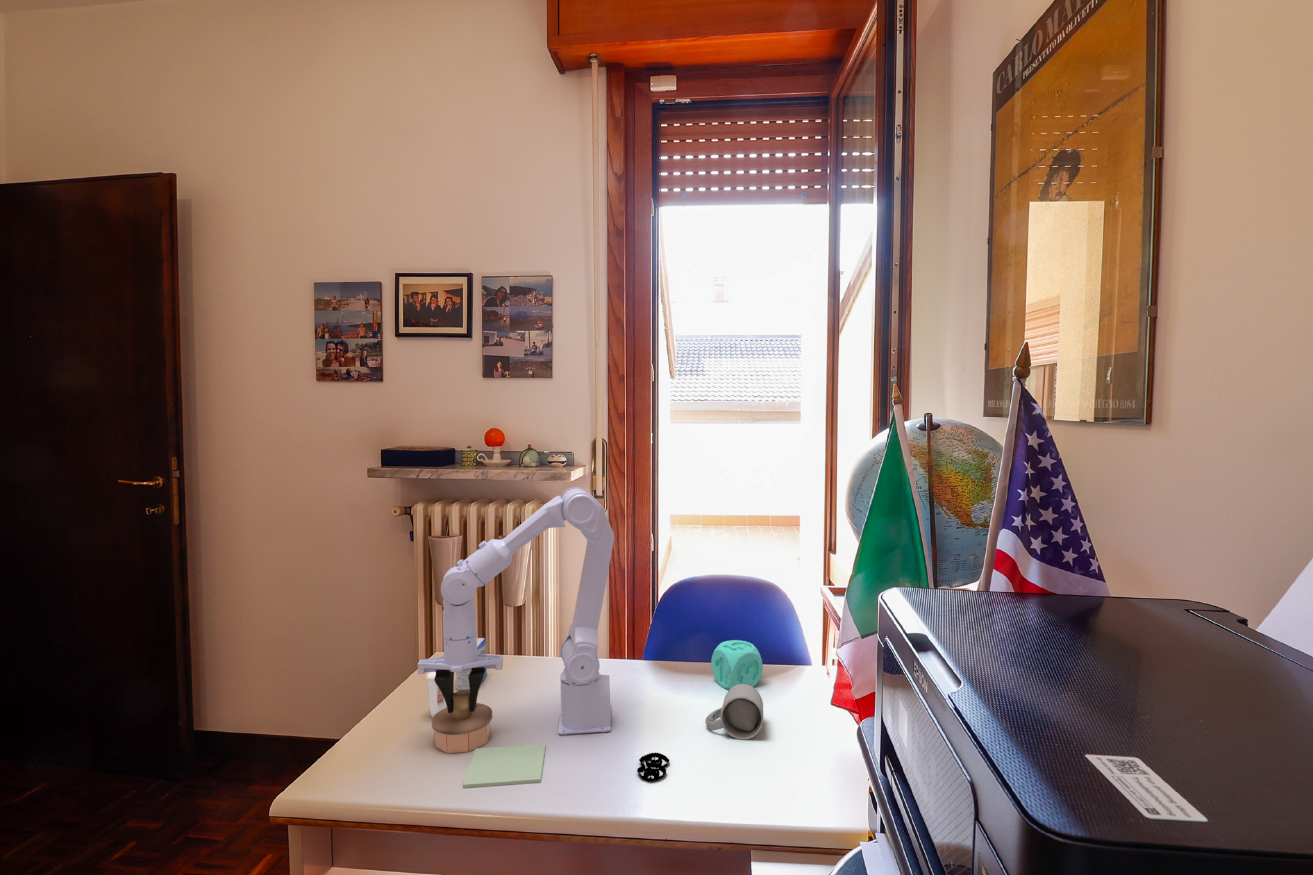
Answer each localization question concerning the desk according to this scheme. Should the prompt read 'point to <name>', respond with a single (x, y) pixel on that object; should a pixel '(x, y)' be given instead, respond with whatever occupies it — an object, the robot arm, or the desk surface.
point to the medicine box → (463, 675)
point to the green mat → (505, 765)
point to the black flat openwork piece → (652, 766)
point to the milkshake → (434, 695)
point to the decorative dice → (736, 664)
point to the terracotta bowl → (462, 740)
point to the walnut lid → (461, 716)
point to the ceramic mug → (739, 713)
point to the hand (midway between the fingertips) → (462, 709)
